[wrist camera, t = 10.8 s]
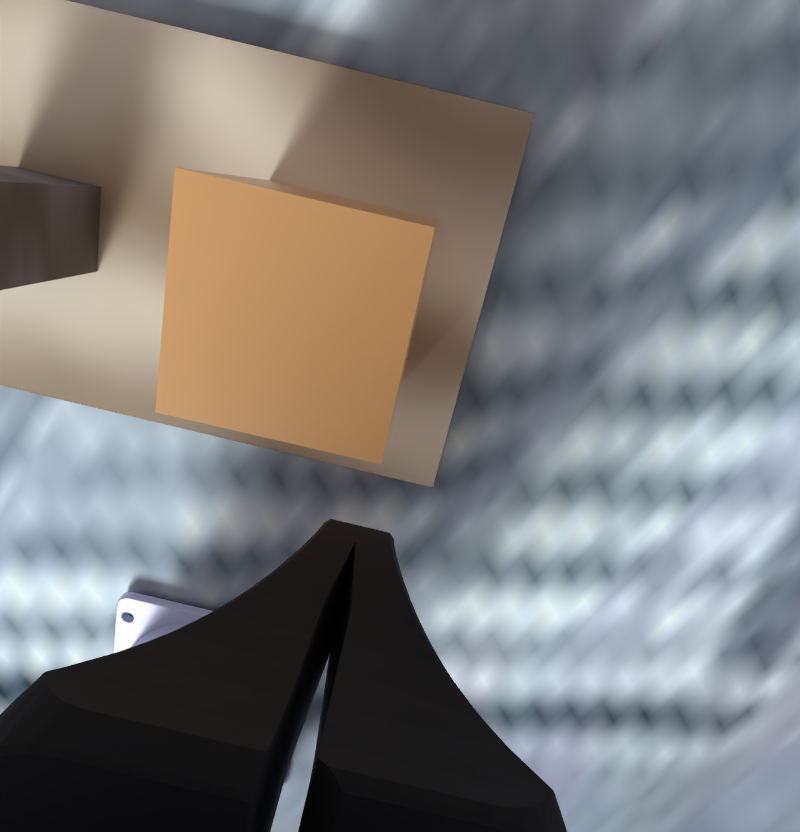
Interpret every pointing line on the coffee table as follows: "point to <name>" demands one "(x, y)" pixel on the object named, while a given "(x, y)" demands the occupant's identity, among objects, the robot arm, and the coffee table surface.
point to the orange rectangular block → (288, 311)
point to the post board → (226, 154)
